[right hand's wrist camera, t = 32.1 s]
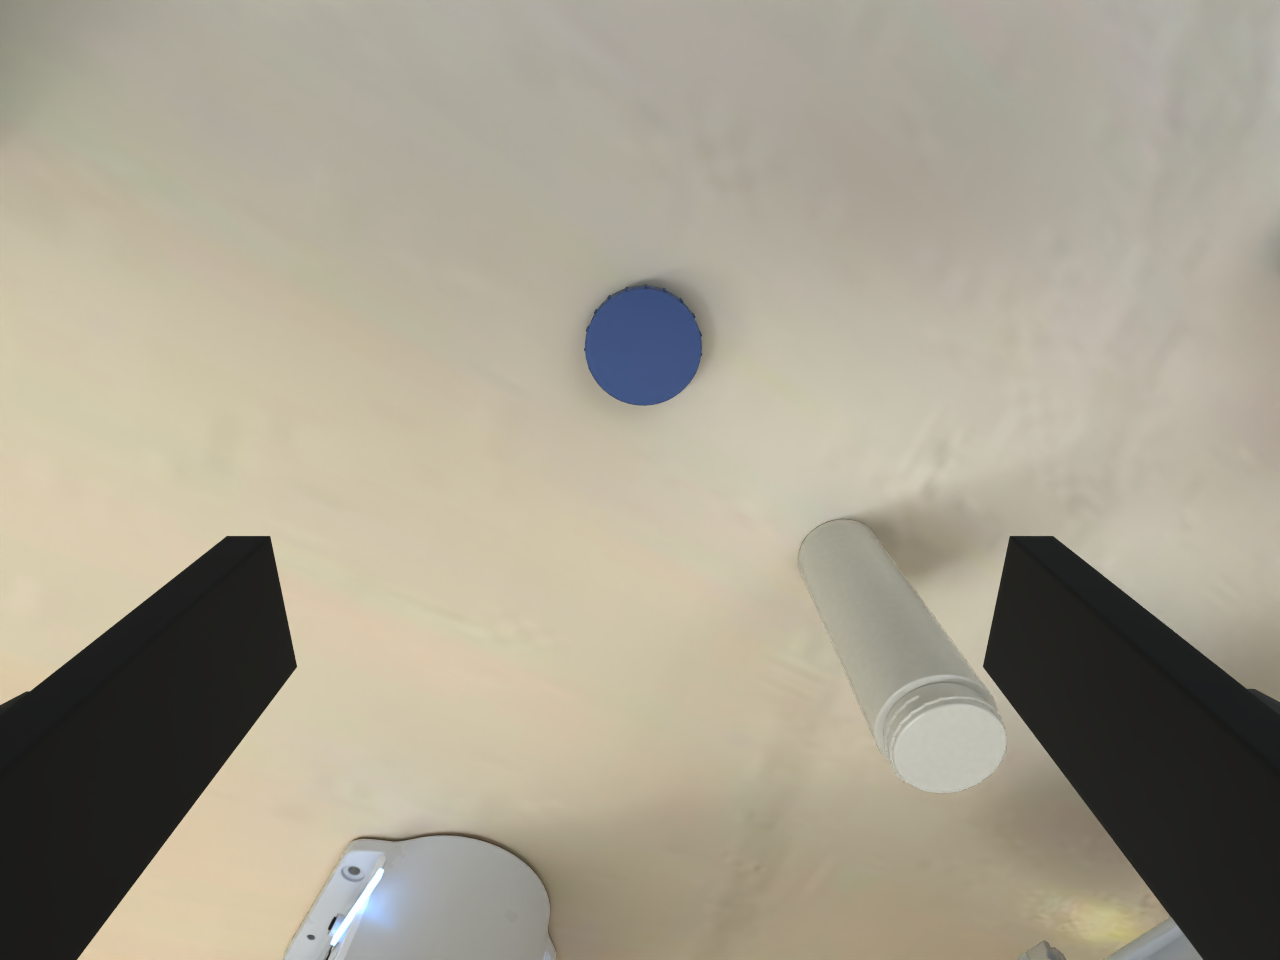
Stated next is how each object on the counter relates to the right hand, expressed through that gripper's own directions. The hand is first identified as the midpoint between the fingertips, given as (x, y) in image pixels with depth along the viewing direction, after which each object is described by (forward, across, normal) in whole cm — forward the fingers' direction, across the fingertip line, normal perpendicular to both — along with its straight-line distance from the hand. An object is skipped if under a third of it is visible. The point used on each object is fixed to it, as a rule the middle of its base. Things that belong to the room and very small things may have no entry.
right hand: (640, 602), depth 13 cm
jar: (+28, +12, -13) cm, 33 cm away
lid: (+26, 0, 0) cm, 26 cm away
